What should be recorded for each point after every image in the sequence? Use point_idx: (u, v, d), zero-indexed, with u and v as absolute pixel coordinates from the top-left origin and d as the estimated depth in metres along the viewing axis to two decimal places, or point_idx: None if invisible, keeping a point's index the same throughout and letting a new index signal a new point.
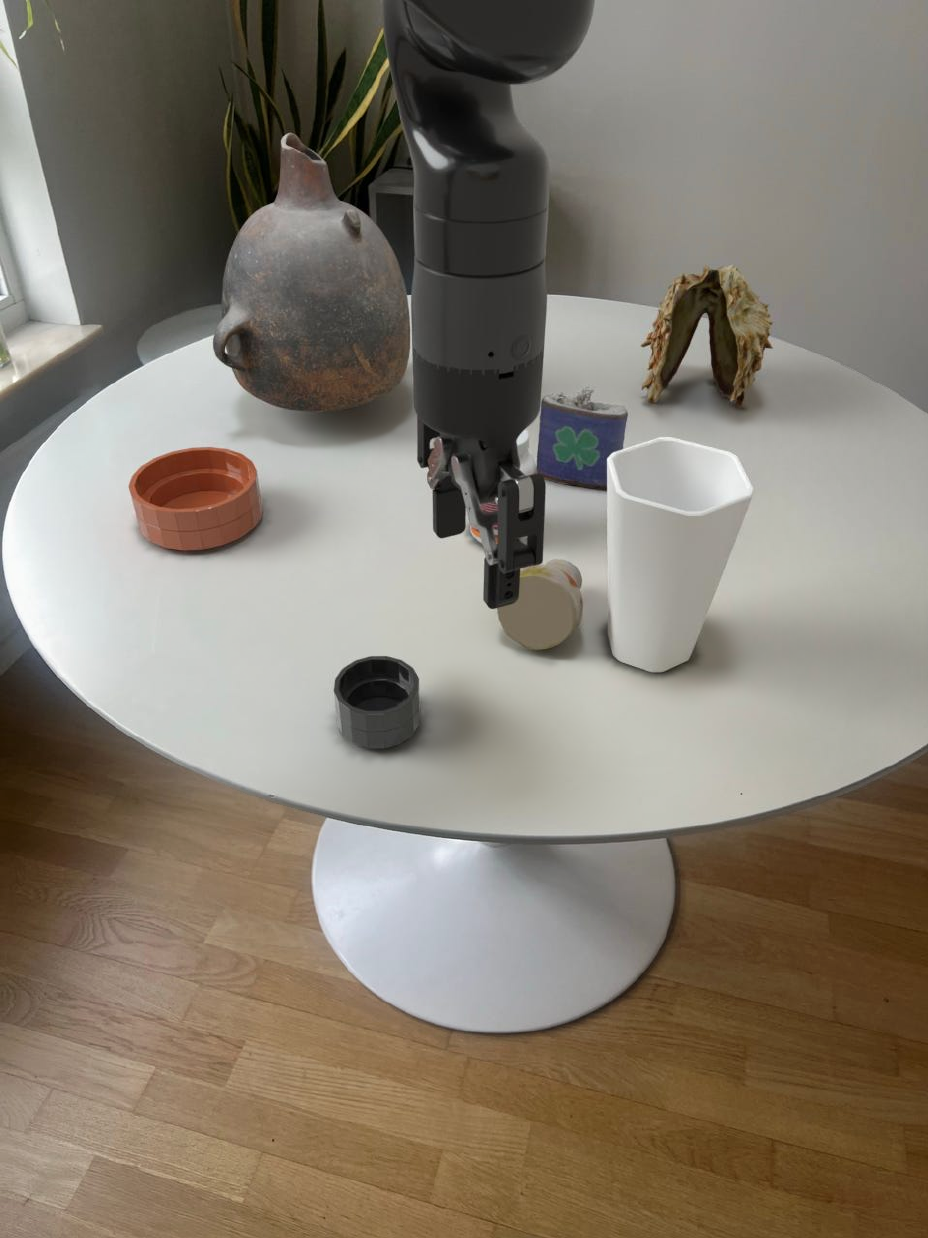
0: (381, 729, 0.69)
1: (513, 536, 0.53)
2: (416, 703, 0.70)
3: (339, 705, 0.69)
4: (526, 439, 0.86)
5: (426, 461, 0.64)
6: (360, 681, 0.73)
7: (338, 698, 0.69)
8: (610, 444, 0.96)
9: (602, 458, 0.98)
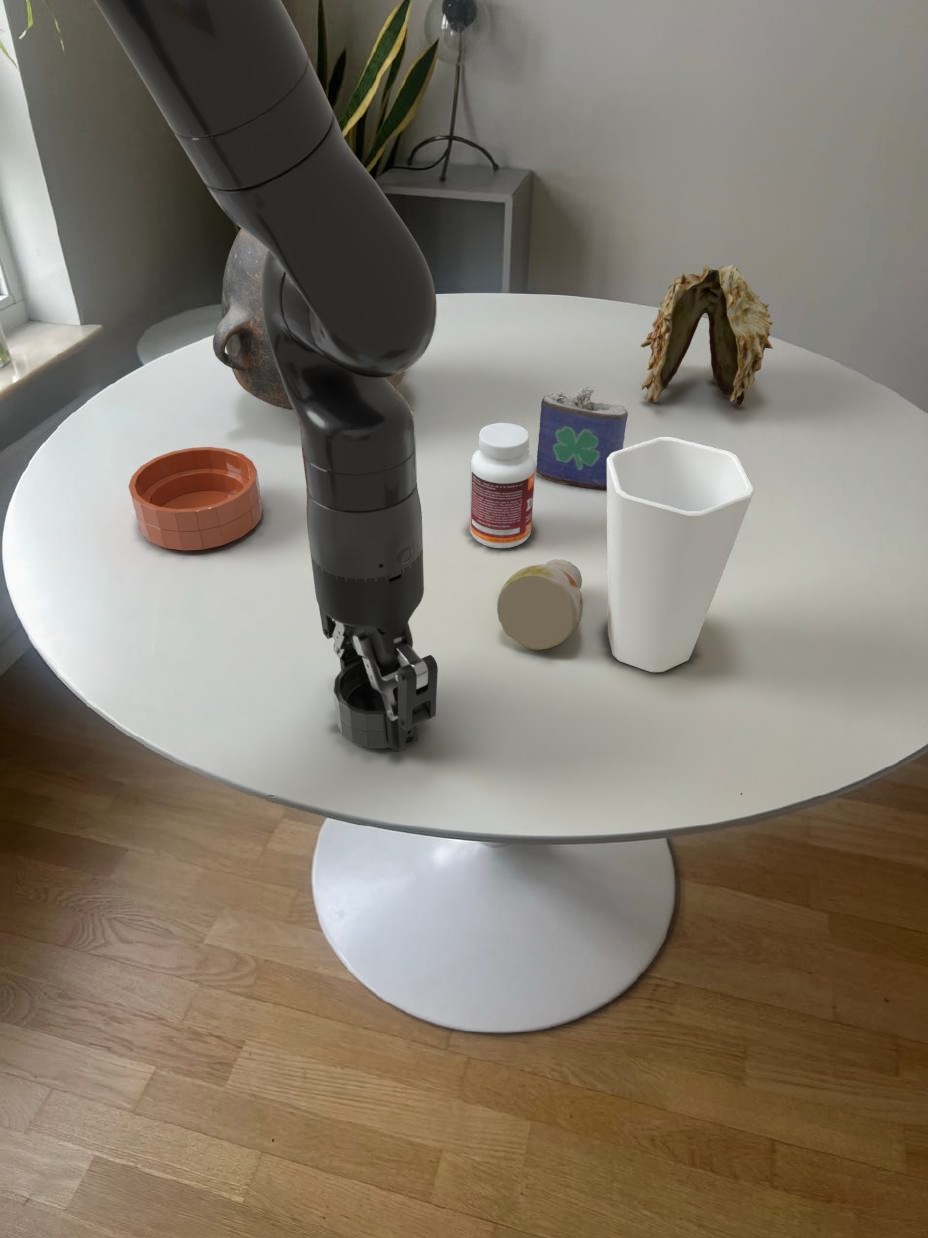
0: (381, 729, 0.69)
1: (412, 706, 0.64)
2: None
3: (339, 705, 0.69)
4: (526, 439, 0.86)
5: (331, 633, 0.72)
6: (360, 681, 0.73)
7: (338, 698, 0.69)
8: (610, 444, 0.96)
9: (602, 458, 0.98)
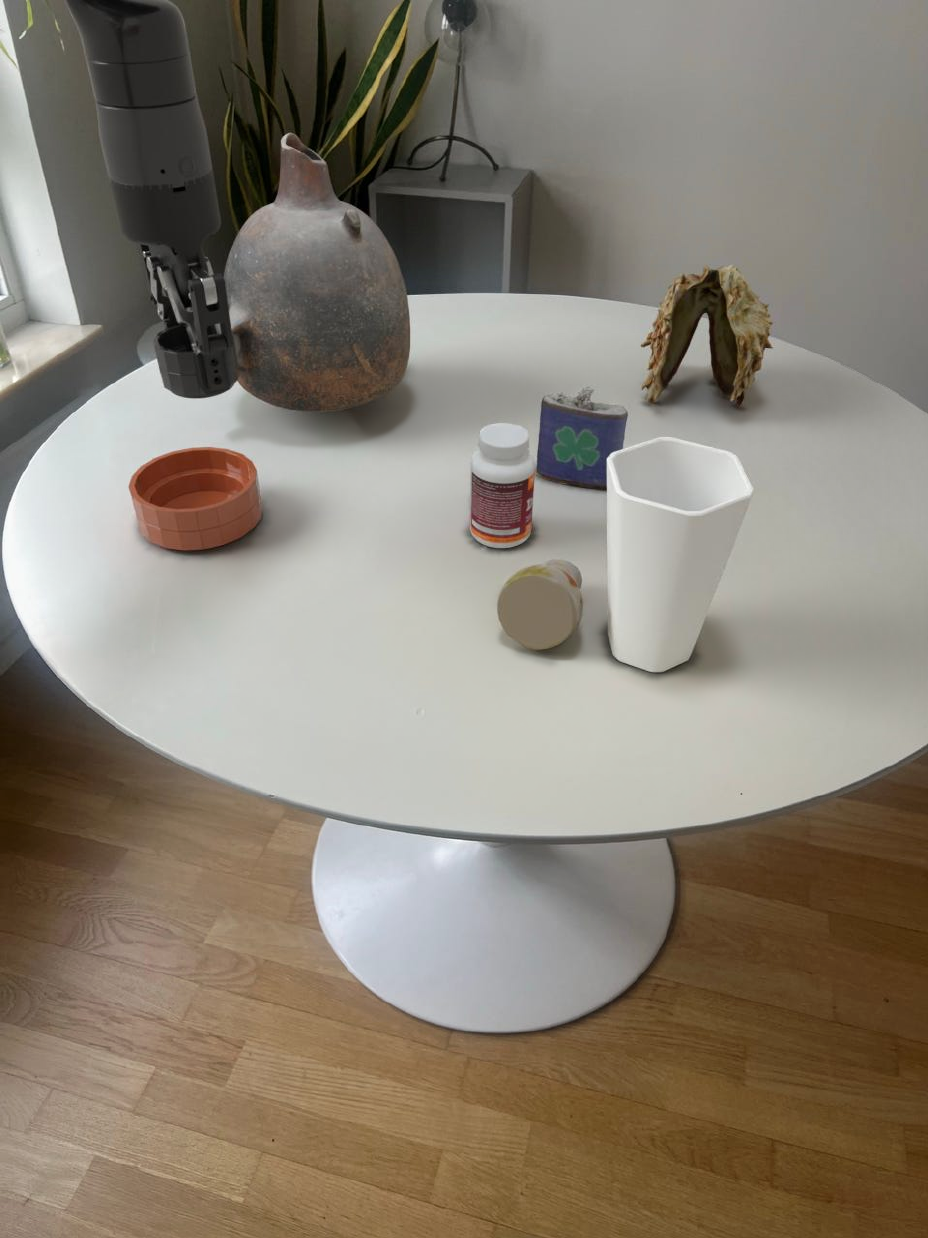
0: (193, 371, 0.76)
1: (205, 324, 0.71)
2: (229, 354, 0.77)
3: (156, 351, 0.76)
4: (526, 439, 0.86)
5: None
6: (185, 346, 0.80)
7: (155, 344, 0.76)
8: (610, 444, 0.96)
9: (602, 458, 0.98)
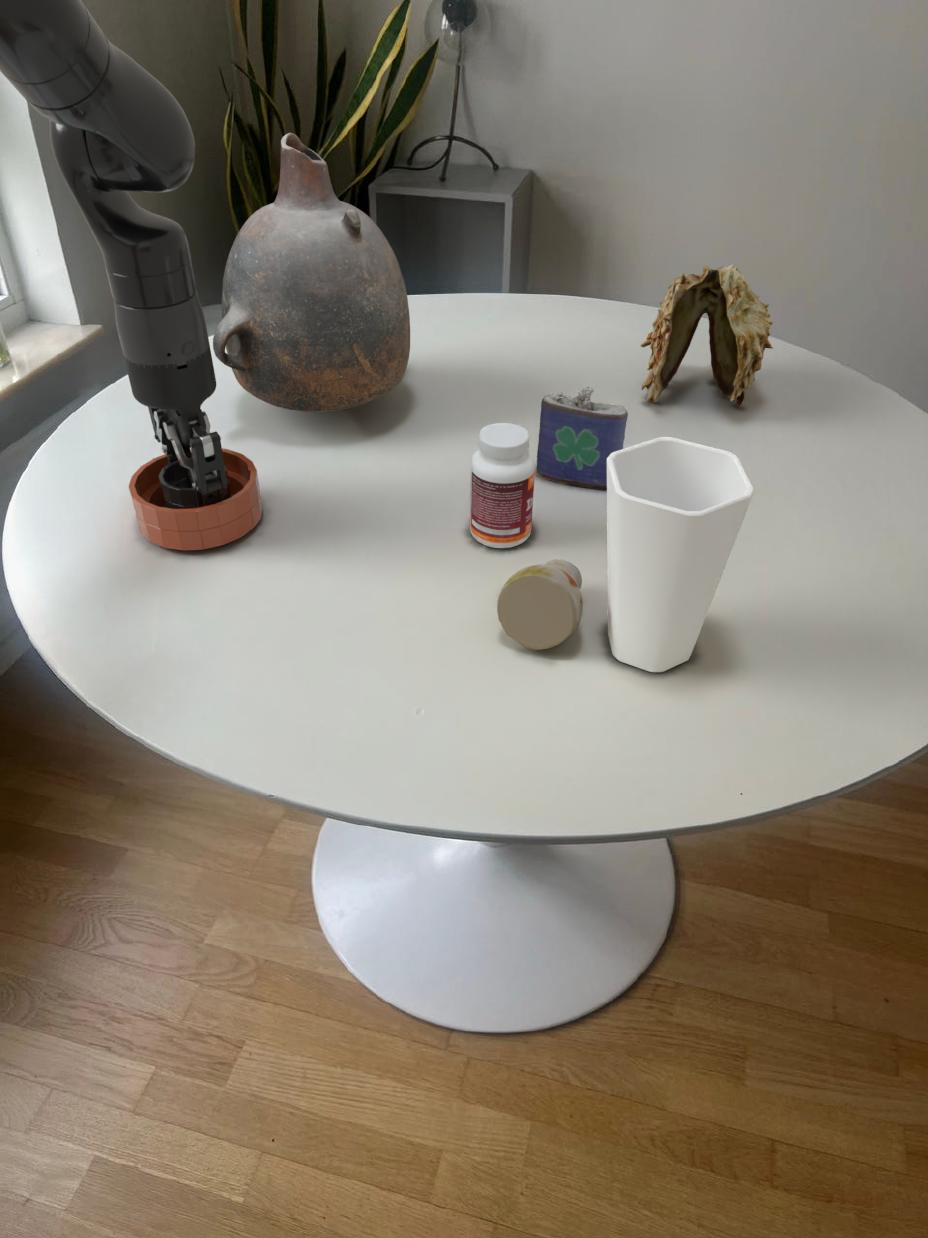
0: (193, 503, 0.90)
1: (204, 472, 0.85)
2: None
3: (162, 486, 0.90)
4: (526, 439, 0.86)
5: None
6: (185, 476, 0.94)
7: (161, 480, 0.90)
8: (610, 444, 0.96)
9: (602, 458, 0.98)
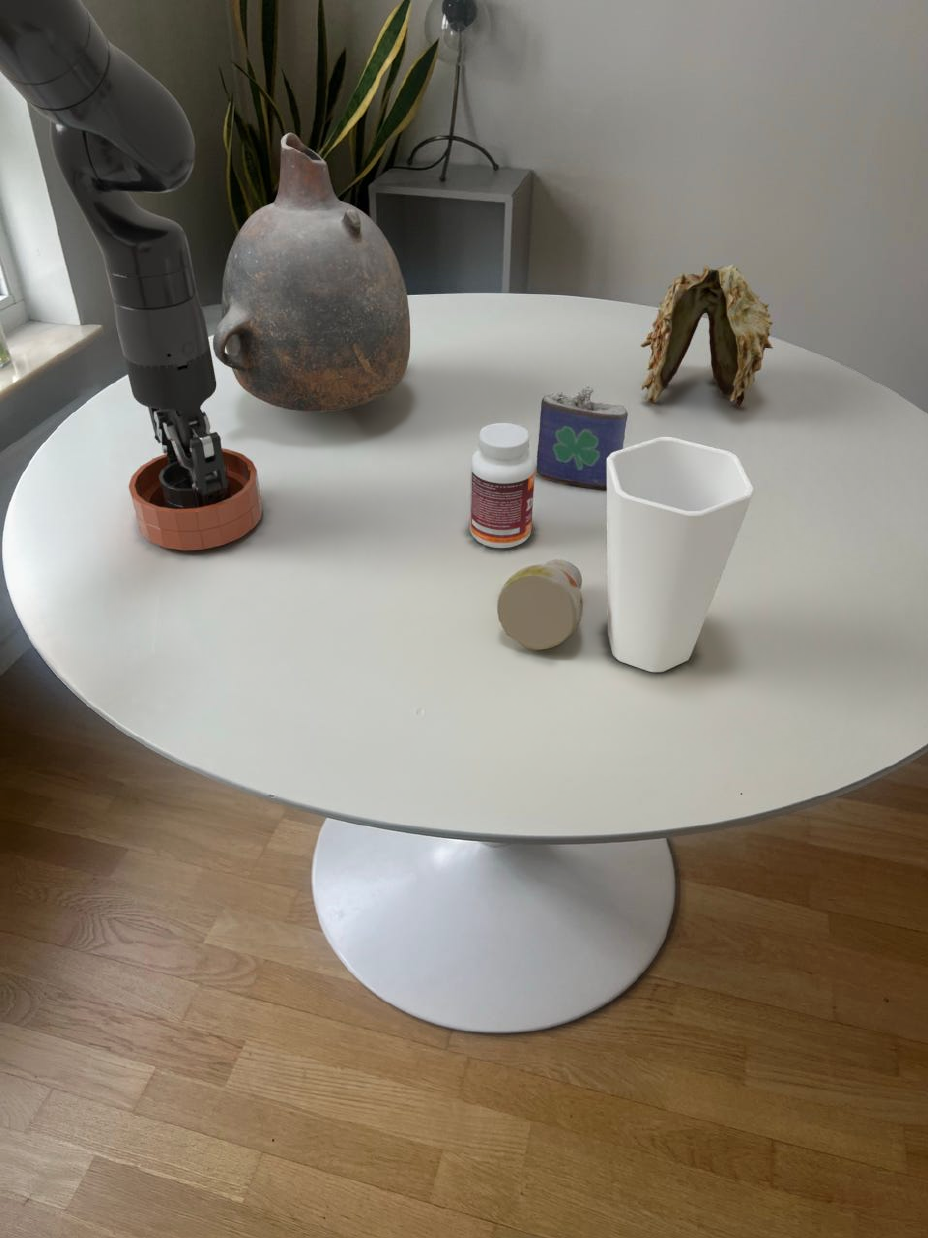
0: (193, 503, 0.90)
1: (203, 472, 0.85)
2: None
3: (162, 486, 0.90)
4: (526, 439, 0.86)
5: None
6: (185, 477, 0.94)
7: (161, 481, 0.90)
8: (610, 444, 0.96)
9: (602, 458, 0.98)
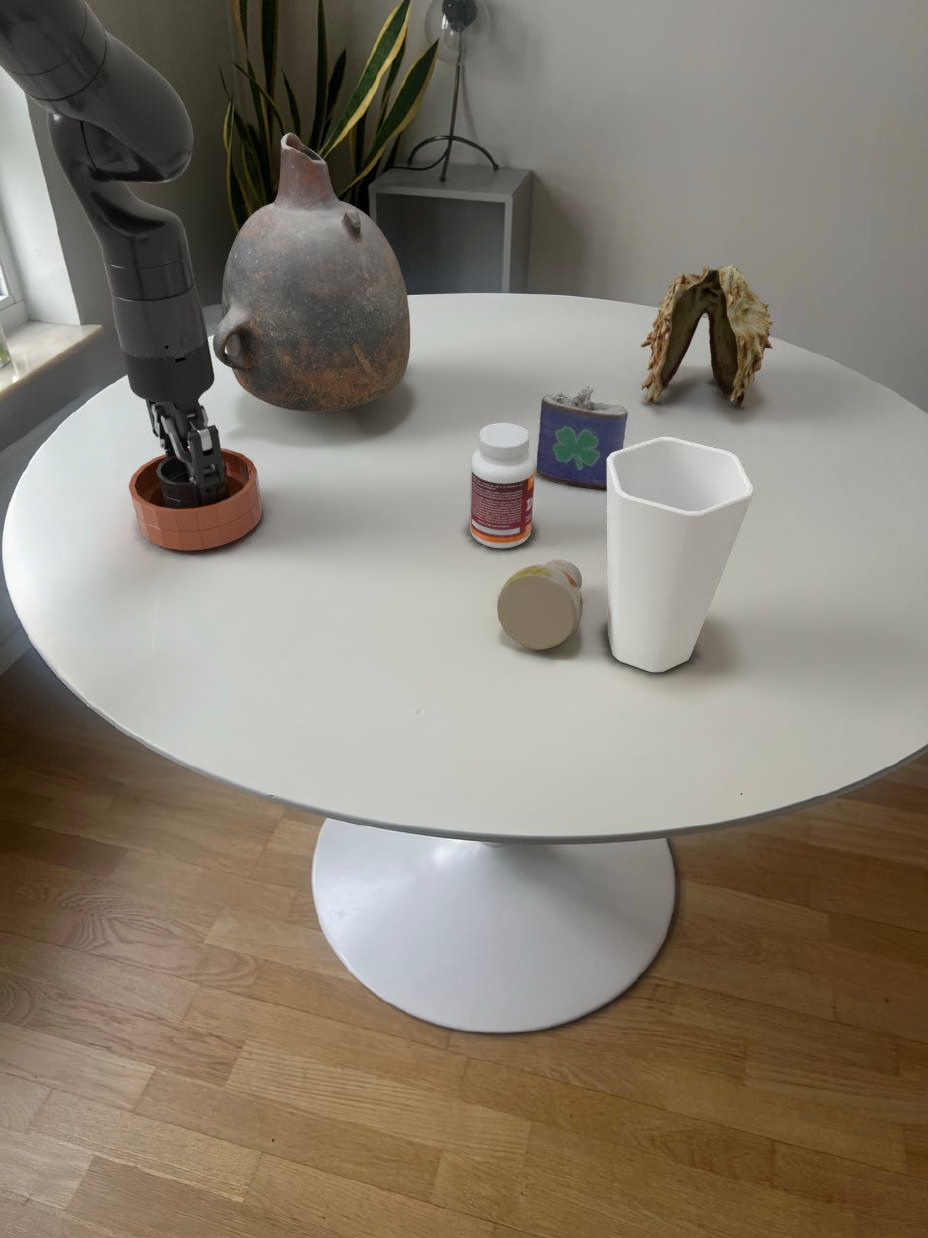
0: (191, 498, 0.89)
1: (201, 465, 0.84)
2: None
3: (159, 480, 0.90)
4: (526, 439, 0.86)
5: None
6: (183, 471, 0.94)
7: (158, 475, 0.90)
8: (610, 444, 0.96)
9: (602, 458, 0.98)
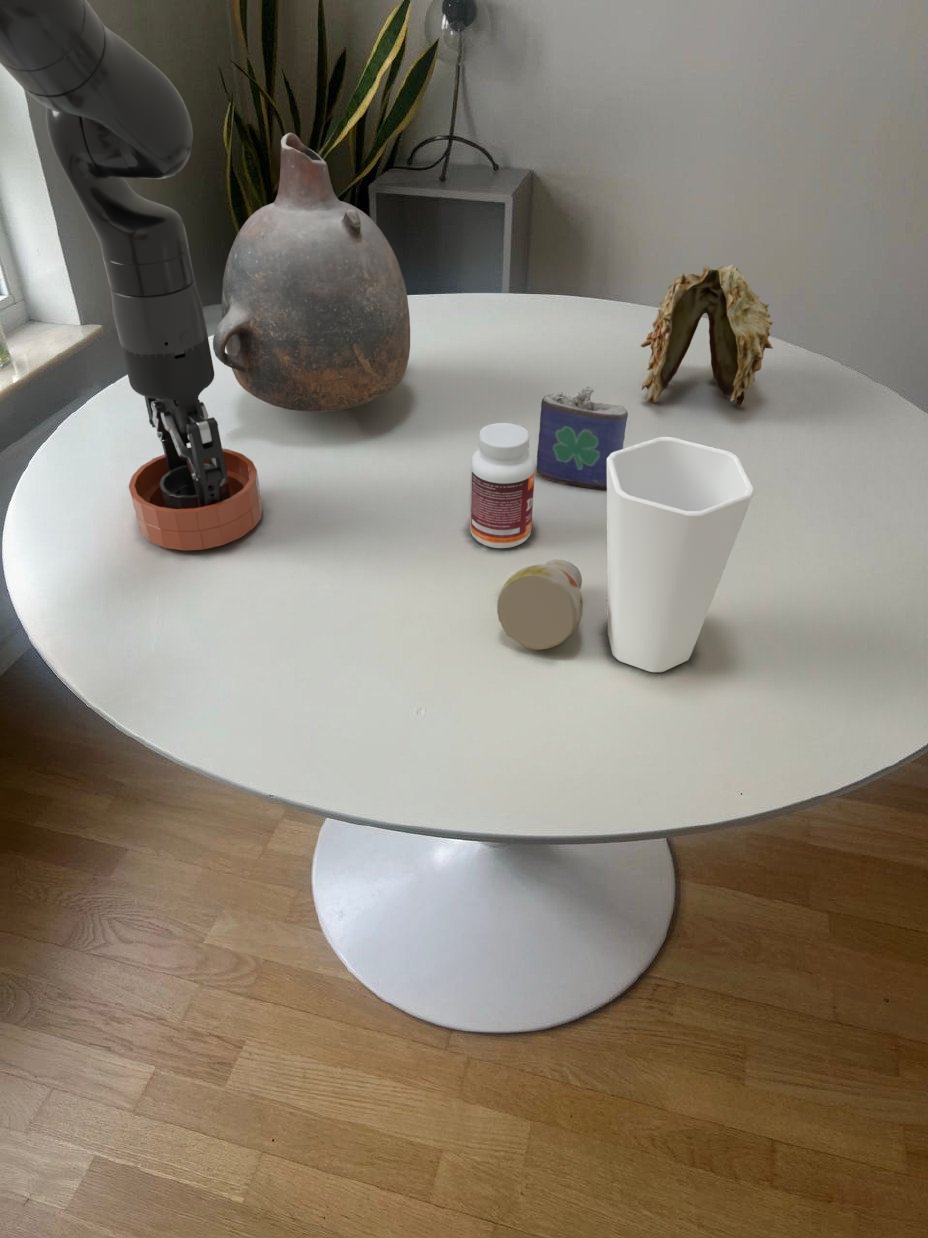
0: None
1: (202, 459, 0.83)
2: (223, 494, 0.92)
3: (162, 493, 0.91)
4: (526, 439, 0.86)
5: None
6: (186, 483, 0.95)
7: (161, 488, 0.91)
8: (610, 444, 0.96)
9: (602, 458, 0.98)
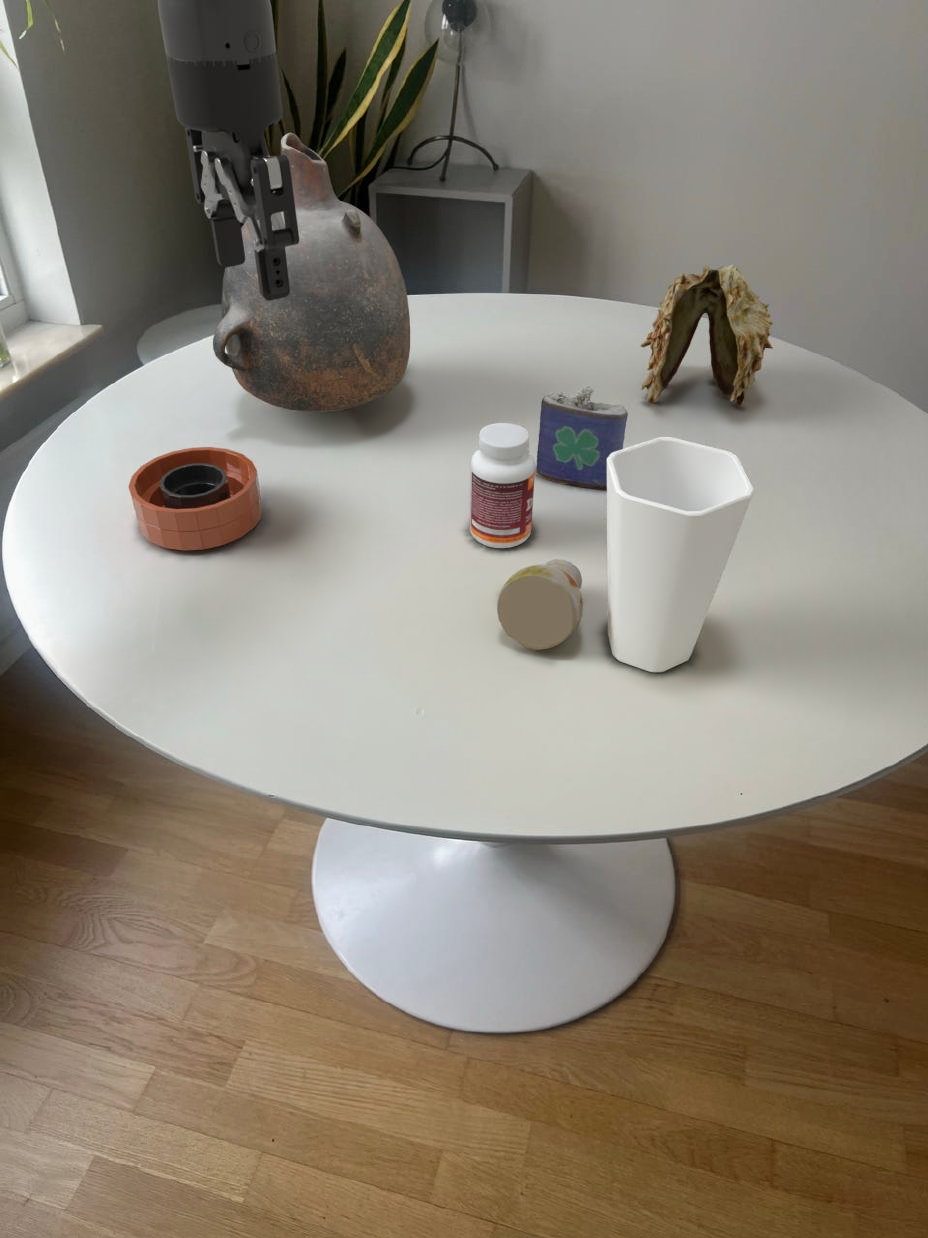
0: None
1: (269, 211, 0.65)
2: (223, 494, 0.92)
3: (162, 493, 0.91)
4: (526, 439, 0.86)
5: (202, 195, 0.75)
6: (186, 483, 0.95)
7: (161, 488, 0.91)
8: (610, 444, 0.96)
9: (602, 458, 0.98)
